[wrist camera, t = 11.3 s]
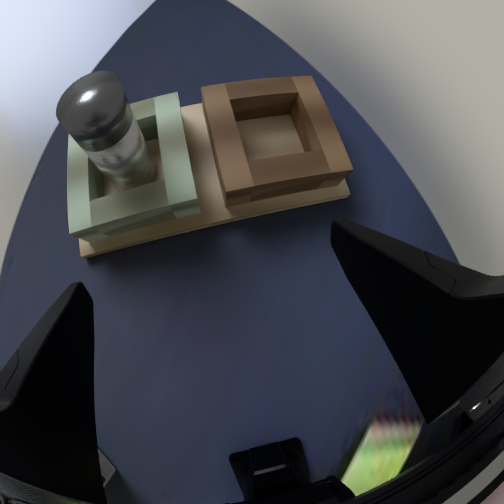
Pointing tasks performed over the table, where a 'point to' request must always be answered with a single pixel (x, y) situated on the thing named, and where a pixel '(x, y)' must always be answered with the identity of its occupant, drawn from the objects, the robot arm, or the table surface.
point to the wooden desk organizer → (213, 164)
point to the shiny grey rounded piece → (107, 129)
